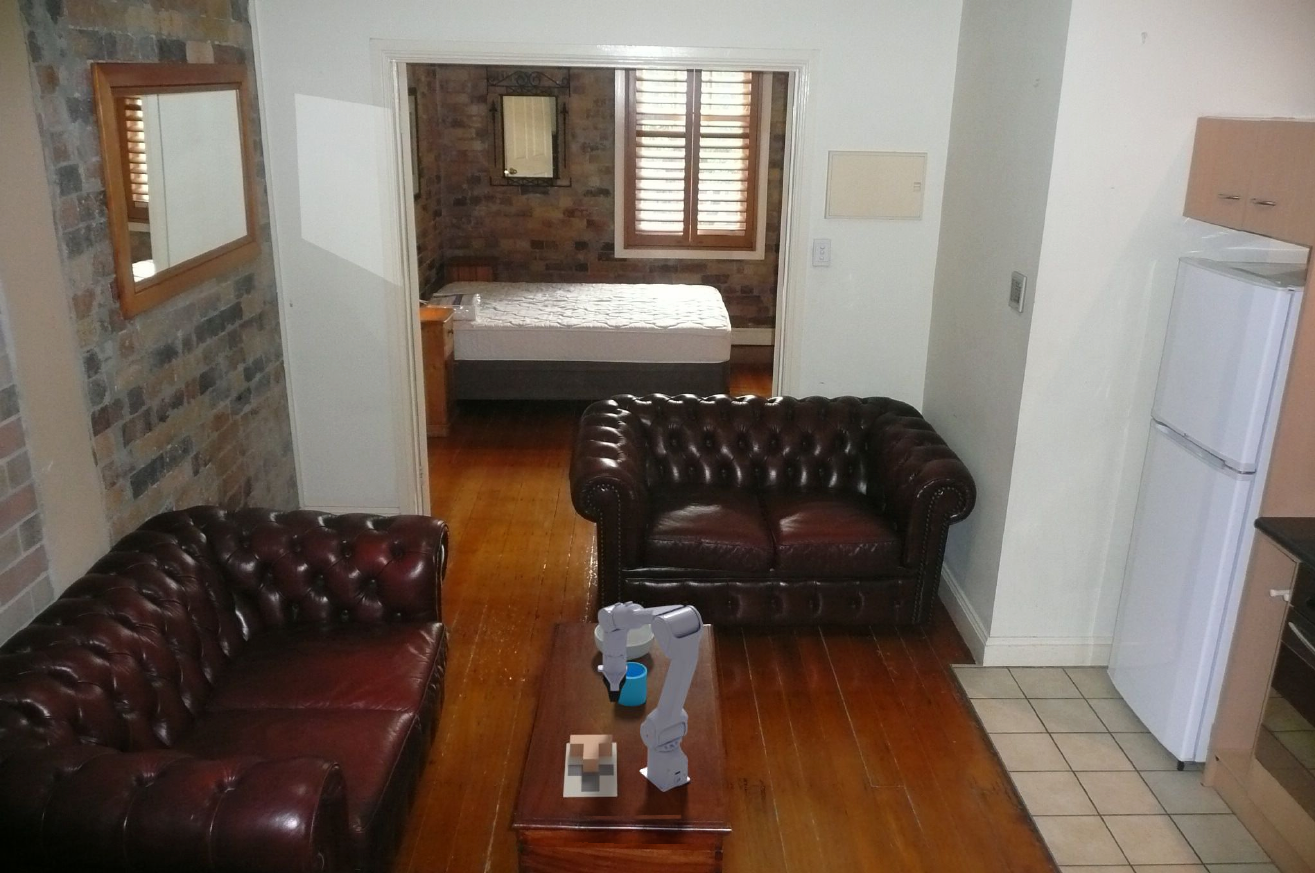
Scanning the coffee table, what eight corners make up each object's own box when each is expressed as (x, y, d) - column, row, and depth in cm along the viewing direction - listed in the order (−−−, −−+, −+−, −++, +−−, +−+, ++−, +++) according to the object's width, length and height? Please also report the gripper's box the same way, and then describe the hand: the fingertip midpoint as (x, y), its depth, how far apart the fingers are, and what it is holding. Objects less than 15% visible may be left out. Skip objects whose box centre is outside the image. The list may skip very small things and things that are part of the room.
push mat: (566, 745, 247) (566, 743, 247) (616, 744, 248) (616, 742, 248) (563, 799, 228) (563, 796, 228) (617, 798, 229) (617, 796, 229)
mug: (643, 707, 263) (644, 680, 261) (612, 704, 264) (612, 677, 262) (651, 683, 274) (651, 656, 272) (621, 680, 275) (621, 653, 273)
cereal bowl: (665, 649, 291) (665, 627, 289) (633, 675, 278) (633, 652, 275) (616, 632, 300) (616, 611, 297) (582, 657, 286) (582, 634, 284)
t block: (570, 747, 245) (570, 734, 244) (612, 746, 246) (612, 734, 245) (569, 772, 236) (569, 759, 235) (612, 771, 237) (612, 758, 236)
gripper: (598, 636, 252) (598, 684, 256) (597, 667, 238) (597, 717, 242) (626, 635, 252) (626, 684, 256) (628, 667, 238) (627, 717, 242)
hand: (614, 700), depth 249 cm, fingers closed
